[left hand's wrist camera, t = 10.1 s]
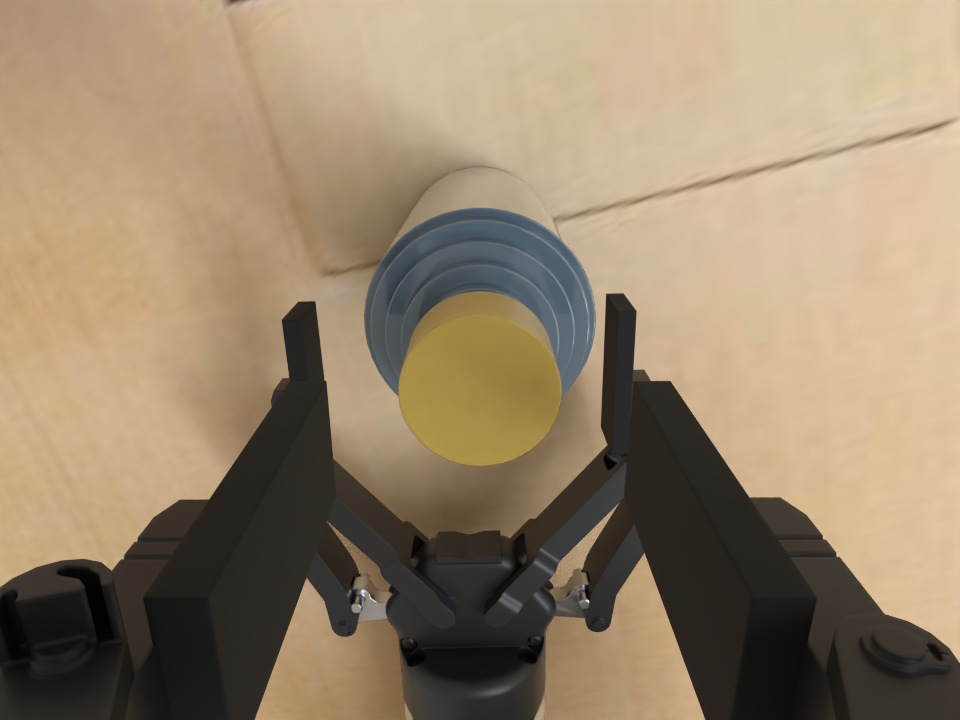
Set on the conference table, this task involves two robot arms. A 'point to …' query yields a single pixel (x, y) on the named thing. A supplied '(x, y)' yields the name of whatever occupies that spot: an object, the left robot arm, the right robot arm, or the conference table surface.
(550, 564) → the right robot arm
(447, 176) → the bottle
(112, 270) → the conference table surface
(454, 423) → the cap
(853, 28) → the conference table surface
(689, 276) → the conference table surface
